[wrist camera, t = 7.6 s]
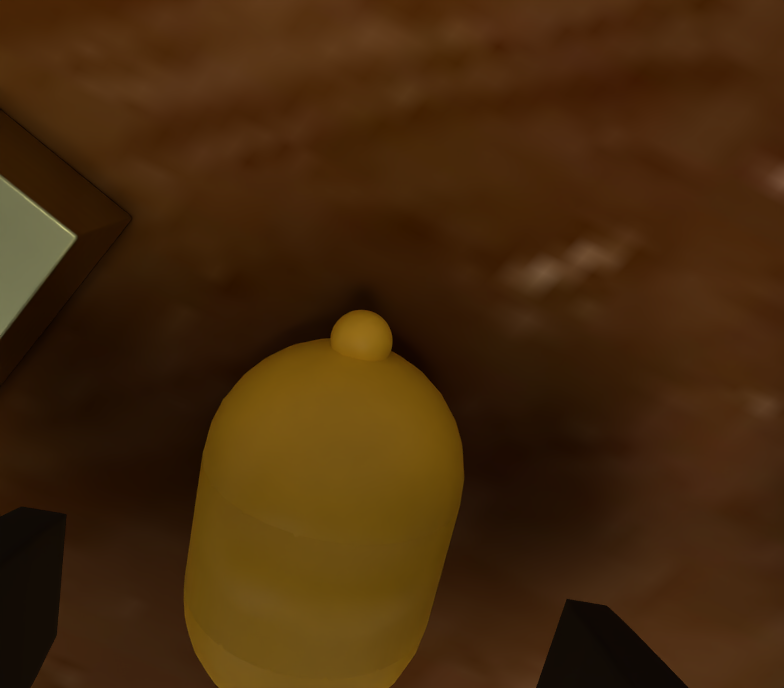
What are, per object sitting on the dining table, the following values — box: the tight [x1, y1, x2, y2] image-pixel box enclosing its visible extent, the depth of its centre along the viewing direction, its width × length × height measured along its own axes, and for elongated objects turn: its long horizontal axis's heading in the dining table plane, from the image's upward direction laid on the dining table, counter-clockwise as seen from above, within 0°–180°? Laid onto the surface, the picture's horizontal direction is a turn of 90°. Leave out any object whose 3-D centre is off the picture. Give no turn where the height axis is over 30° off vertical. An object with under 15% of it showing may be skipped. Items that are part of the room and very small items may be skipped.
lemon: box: [184, 310, 464, 688], centre depth 12 cm, size 8×4×4 cm, turn 168°
